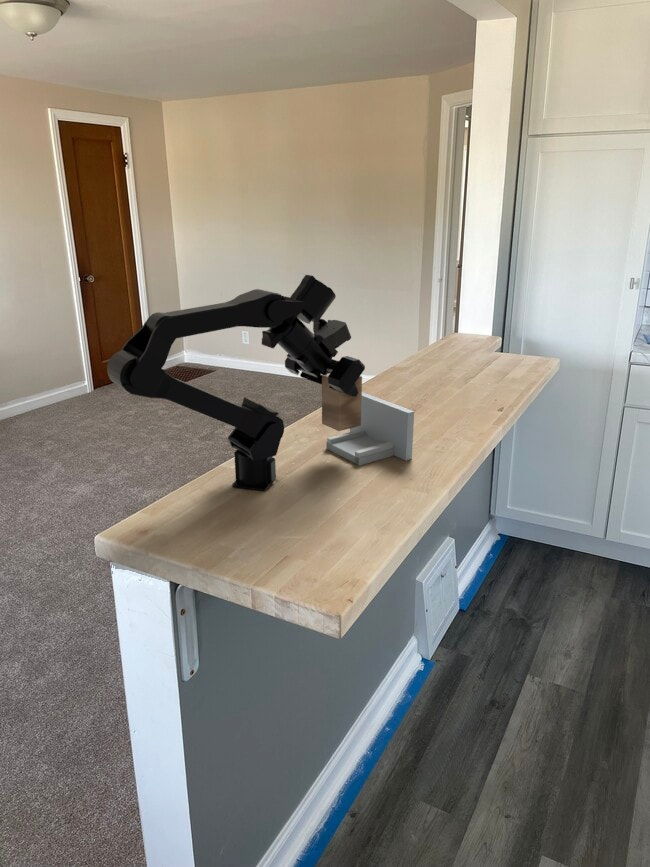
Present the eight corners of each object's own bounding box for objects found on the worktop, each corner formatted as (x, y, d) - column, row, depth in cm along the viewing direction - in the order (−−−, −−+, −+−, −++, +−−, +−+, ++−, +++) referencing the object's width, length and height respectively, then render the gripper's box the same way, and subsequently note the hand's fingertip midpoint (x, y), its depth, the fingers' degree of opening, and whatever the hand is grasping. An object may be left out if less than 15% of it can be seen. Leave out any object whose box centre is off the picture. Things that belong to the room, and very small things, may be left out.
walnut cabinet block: (338, 431, 123) (339, 381, 120) (321, 423, 127) (321, 374, 124) (360, 425, 126) (362, 376, 123) (343, 418, 130) (344, 370, 127)
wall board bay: (371, 471, 123) (372, 422, 119) (316, 443, 136) (316, 398, 133) (411, 458, 128) (414, 411, 125) (355, 433, 142) (356, 390, 139)
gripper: (357, 314, 109) (402, 368, 119) (296, 301, 123) (341, 349, 133) (320, 366, 108) (369, 416, 118) (262, 346, 122) (310, 392, 132)
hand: (347, 391), depth 125 cm, fingers closed on walnut cabinet block, 5 cm apart
